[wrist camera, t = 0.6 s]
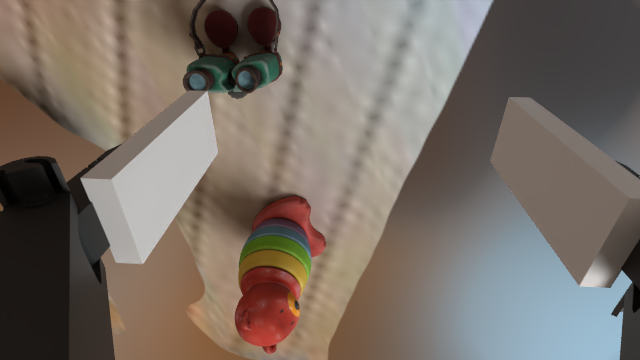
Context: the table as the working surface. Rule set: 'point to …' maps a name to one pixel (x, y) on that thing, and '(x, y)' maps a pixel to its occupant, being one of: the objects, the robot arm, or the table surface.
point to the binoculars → (226, 68)
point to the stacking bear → (275, 271)
